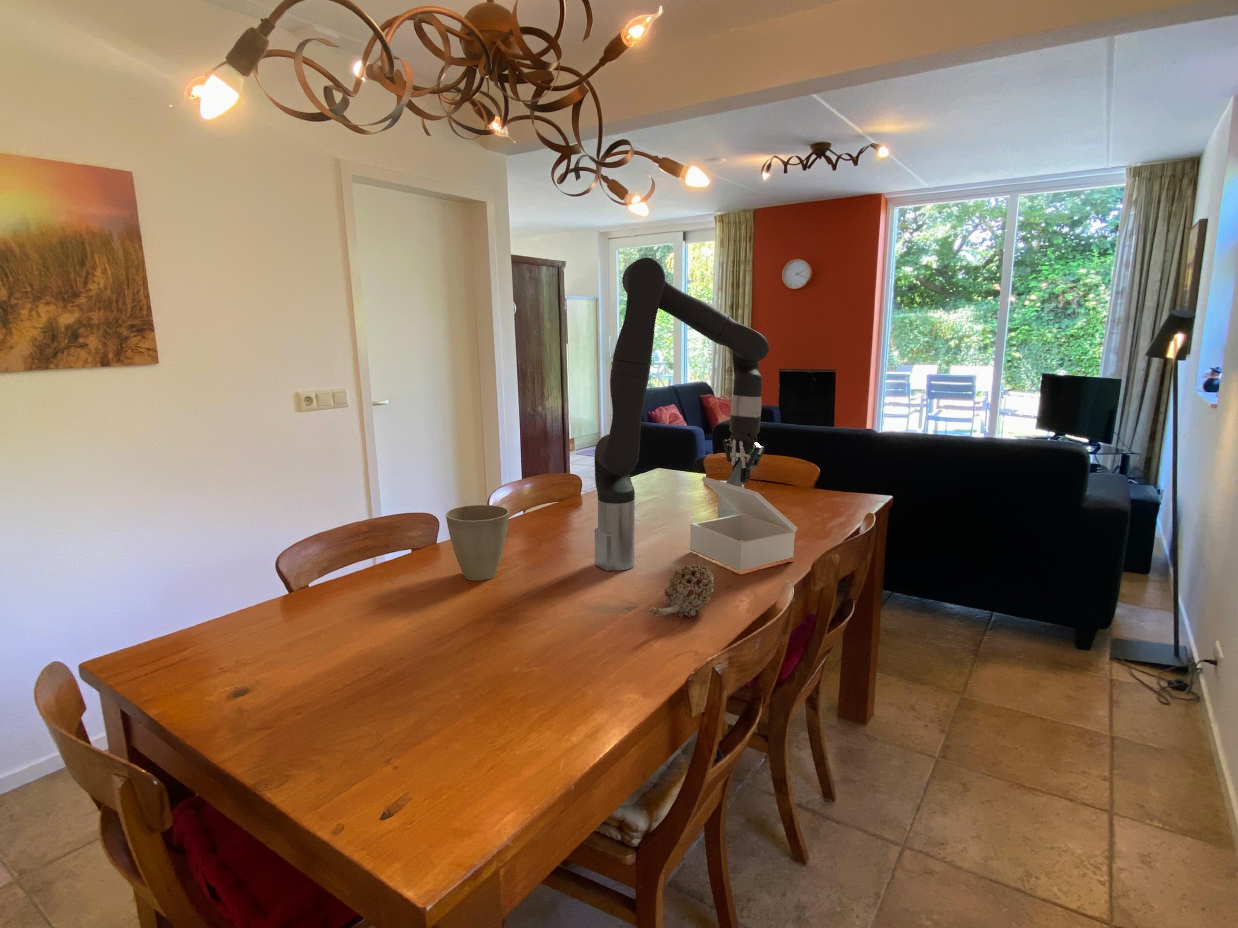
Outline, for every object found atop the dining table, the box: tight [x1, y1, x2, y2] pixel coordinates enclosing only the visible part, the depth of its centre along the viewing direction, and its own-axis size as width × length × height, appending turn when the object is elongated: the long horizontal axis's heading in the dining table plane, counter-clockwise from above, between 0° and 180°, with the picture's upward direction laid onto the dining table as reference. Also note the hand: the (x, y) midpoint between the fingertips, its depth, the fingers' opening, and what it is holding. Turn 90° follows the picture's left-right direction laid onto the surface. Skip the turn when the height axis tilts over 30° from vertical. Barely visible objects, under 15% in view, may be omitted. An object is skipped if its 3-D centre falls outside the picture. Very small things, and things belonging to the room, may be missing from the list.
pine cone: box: [648, 563, 715, 618], centre depth 134 cm, size 22×10×10 cm, turn 150°
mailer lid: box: [701, 460, 798, 533], centre depth 171 cm, size 18×20×8 cm
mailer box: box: [689, 514, 796, 571], centre depth 171 cm, size 18×20×8 cm
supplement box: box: [717, 480, 745, 519], centre depth 202 cm, size 7×7×13 cm
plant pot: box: [445, 504, 510, 582], centre depth 158 cm, size 15×15×16 cm
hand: (740, 480), depth 168 cm, fingers closed on mailer lid, 2 cm apart
